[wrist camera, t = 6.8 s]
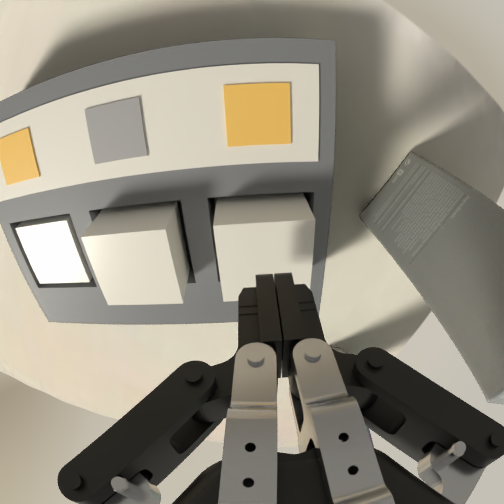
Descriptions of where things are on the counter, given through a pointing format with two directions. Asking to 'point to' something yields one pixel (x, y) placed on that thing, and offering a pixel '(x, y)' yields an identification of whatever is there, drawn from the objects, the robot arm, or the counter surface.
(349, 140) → the counter surface
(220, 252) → the button
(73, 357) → the counter surface
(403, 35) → the counter surface
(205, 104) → the button panel
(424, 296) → the skincare box
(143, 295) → the middle button
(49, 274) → the button
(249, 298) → the robot arm
